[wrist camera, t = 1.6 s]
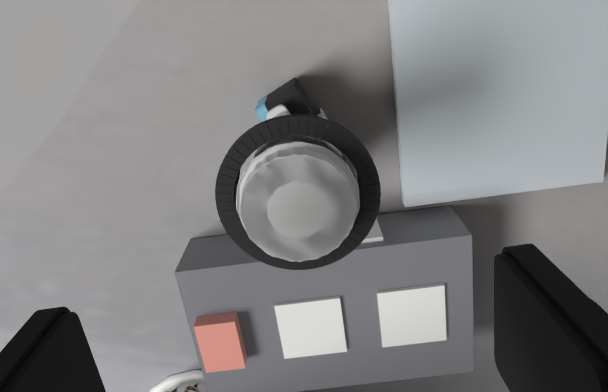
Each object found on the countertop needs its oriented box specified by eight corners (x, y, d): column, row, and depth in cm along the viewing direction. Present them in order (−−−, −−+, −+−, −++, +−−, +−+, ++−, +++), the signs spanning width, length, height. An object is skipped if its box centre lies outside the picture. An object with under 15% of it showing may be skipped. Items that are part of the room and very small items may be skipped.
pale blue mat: (615, -36, 21) (623, -37, 21) (596, 177, 25) (603, 181, 24) (387, -1, 22) (390, -1, 21) (402, 202, 25) (404, 207, 25)
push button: (386, 167, 25) (435, 266, 15) (297, 218, 26) (294, 340, 16) (317, 53, 23) (327, 88, 13) (224, 113, 24) (174, 184, 14)
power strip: (450, 202, 25) (478, 238, 21) (454, 329, 28) (479, 383, 24) (189, 235, 26) (168, 277, 22) (220, 356, 29) (207, 413, 25)
